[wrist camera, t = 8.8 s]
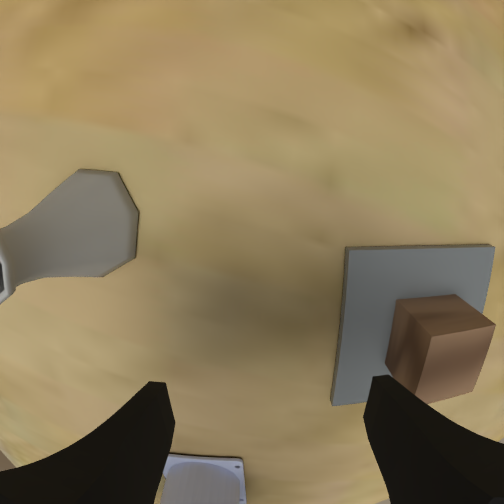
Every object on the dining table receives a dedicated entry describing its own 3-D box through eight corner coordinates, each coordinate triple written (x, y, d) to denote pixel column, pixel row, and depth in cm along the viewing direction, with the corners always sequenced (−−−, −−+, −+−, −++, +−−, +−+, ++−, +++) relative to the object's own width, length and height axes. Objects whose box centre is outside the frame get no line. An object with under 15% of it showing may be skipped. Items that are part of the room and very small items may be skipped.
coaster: (456, 377, 21) (460, 382, 21) (330, 399, 22) (332, 406, 21) (488, 244, 18) (495, 247, 18) (345, 247, 19) (349, 250, 18)
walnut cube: (440, 354, 20) (472, 391, 15) (384, 363, 20) (410, 407, 15) (455, 294, 18) (495, 324, 14) (396, 299, 19) (431, 336, 14)
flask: (152, 268, 19) (73, 353, 9) (65, 281, 19) (-27, 348, 10) (129, 154, 17) (20, 150, 8) (42, 182, 18) (-69, 203, 8)
